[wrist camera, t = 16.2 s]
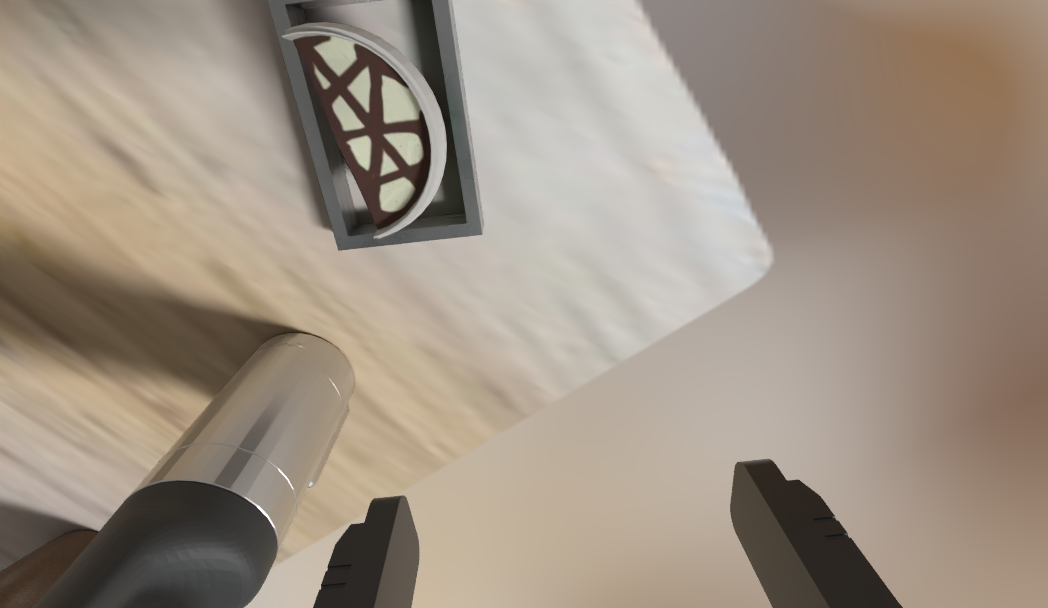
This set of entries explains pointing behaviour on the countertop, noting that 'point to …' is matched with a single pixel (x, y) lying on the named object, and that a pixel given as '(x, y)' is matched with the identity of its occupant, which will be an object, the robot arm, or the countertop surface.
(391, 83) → the food container
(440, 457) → the countertop surface
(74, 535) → the plant pot
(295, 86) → the collar
